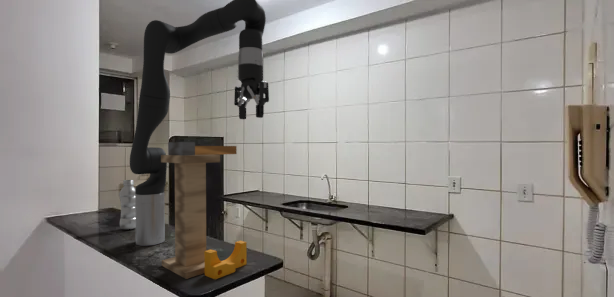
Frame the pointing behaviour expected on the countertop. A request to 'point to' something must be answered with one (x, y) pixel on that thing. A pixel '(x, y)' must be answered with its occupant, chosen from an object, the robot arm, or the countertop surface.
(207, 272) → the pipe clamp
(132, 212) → the plastic bottle
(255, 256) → the countertop surface
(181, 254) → the stand
